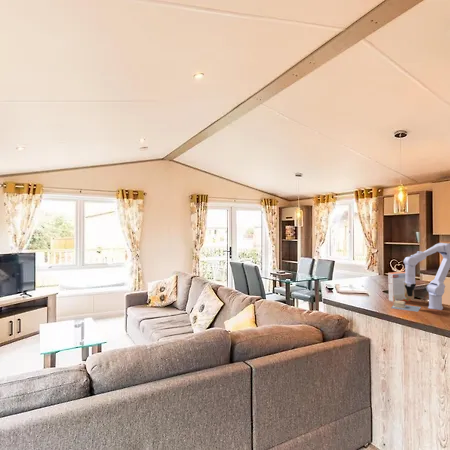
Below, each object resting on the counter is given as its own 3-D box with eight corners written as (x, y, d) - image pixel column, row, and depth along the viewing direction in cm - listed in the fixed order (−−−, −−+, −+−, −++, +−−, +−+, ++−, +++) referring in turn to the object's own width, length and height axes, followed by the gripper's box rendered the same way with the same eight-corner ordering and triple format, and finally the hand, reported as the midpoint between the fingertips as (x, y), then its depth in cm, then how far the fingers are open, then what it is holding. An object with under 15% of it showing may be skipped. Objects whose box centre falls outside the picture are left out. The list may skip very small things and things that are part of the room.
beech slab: (395, 304, 230) (395, 300, 230) (405, 306, 227) (405, 301, 227) (393, 306, 225) (393, 302, 225) (403, 307, 222) (403, 303, 222)
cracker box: (405, 299, 246) (404, 271, 246) (410, 301, 240) (410, 272, 240) (388, 300, 244) (387, 272, 244) (393, 302, 238) (393, 273, 238)
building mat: (394, 304, 233) (394, 303, 233) (421, 307, 224) (421, 306, 224) (390, 308, 222) (390, 308, 222) (418, 312, 212) (418, 311, 212)
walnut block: (407, 297, 223) (407, 289, 223) (414, 298, 221) (413, 290, 221) (406, 298, 220) (406, 290, 220) (413, 299, 218) (413, 291, 218)
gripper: (405, 273, 229) (405, 292, 229) (401, 276, 217) (401, 296, 217) (416, 273, 224) (417, 294, 225) (414, 277, 213) (414, 298, 213)
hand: (410, 295), depth 221 cm, fingers closed on walnut block, 4 cm apart
